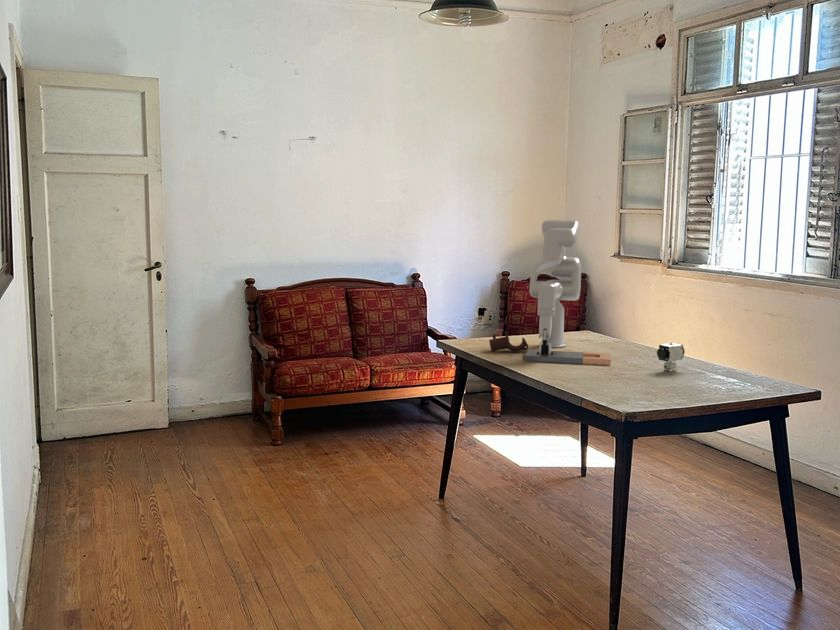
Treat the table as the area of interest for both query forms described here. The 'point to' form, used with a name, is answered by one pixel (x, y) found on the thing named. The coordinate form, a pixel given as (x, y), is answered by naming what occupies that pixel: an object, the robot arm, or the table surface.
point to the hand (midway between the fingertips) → (545, 352)
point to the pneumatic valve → (670, 354)
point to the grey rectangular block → (549, 349)
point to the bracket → (506, 344)
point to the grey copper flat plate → (569, 357)
